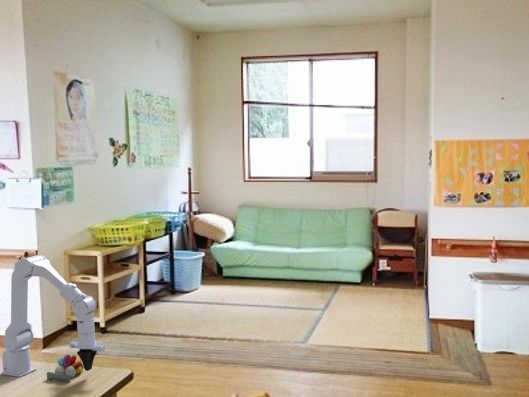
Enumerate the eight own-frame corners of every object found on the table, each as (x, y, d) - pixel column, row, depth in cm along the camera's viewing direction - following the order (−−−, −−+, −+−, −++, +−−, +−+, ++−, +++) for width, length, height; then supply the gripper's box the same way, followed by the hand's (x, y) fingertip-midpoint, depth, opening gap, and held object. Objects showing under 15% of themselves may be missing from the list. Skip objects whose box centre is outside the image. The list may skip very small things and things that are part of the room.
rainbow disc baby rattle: (75, 379, 201) (74, 359, 201) (50, 378, 203) (49, 358, 203) (87, 370, 210) (86, 351, 209) (63, 369, 212) (62, 350, 211)
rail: (47, 379, 202) (46, 372, 202) (48, 378, 202) (48, 371, 202) (68, 383, 198) (68, 376, 197) (70, 382, 198) (70, 375, 198)
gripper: (110, 330, 202) (112, 368, 203) (78, 326, 208) (80, 363, 209) (96, 336, 195) (98, 375, 196) (64, 332, 201) (66, 370, 202)
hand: (88, 369), depth 202 cm, fingers closed
